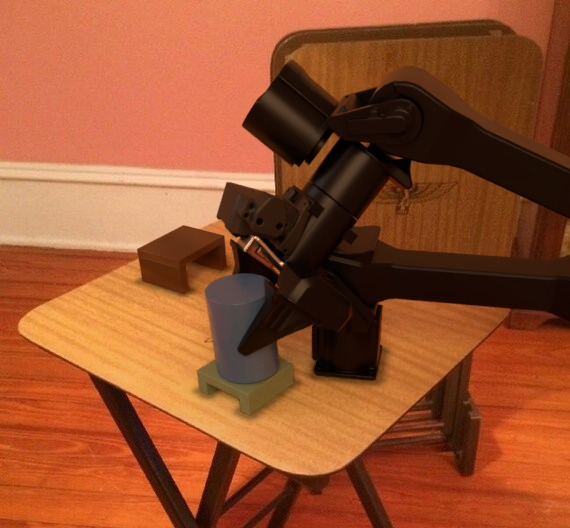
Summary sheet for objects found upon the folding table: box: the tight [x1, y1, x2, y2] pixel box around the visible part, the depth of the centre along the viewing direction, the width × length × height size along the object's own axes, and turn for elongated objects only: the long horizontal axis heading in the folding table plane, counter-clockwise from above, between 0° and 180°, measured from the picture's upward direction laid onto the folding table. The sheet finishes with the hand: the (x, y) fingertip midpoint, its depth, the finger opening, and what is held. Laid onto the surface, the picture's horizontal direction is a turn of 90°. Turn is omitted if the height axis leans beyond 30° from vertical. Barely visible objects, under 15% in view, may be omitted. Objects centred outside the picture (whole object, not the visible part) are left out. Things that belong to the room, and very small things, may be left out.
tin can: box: [204, 273, 280, 384], centre depth 66 cm, size 6×6×8 cm
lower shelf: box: [196, 356, 295, 416], centre depth 69 cm, size 7×7×2 cm
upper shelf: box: [136, 224, 228, 295], centre depth 90 cm, size 9×7×4 cm
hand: (230, 337), depth 66 cm, fingers closed on tin can, 6 cm apart
